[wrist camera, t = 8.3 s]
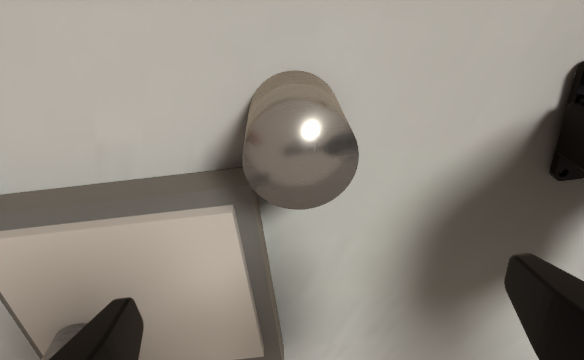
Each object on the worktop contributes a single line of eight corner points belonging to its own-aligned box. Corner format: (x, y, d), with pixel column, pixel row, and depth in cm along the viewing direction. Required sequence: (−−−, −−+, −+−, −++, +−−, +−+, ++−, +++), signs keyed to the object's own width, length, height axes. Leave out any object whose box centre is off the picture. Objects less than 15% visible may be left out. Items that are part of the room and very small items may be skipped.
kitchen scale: (251, 166, 20) (249, 199, 17) (283, 347, 28) (285, 392, 25) (-27, 197, 20) (-75, 236, 18) (79, 370, 28) (57, 417, 25)
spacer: (336, 65, 18) (357, 97, 14) (340, 151, 20) (359, 203, 16) (241, 76, 18) (232, 112, 14) (255, 161, 20) (251, 215, 16)
